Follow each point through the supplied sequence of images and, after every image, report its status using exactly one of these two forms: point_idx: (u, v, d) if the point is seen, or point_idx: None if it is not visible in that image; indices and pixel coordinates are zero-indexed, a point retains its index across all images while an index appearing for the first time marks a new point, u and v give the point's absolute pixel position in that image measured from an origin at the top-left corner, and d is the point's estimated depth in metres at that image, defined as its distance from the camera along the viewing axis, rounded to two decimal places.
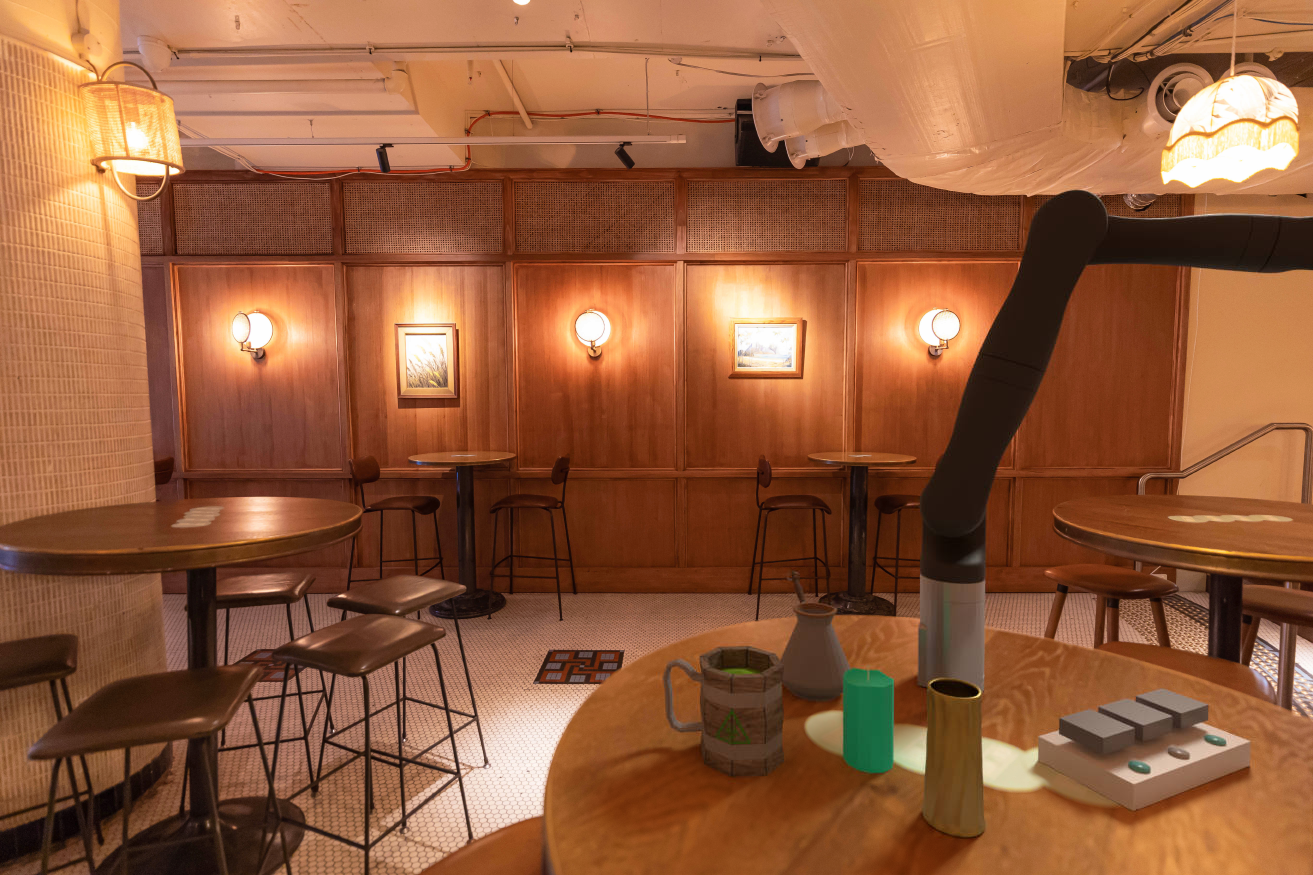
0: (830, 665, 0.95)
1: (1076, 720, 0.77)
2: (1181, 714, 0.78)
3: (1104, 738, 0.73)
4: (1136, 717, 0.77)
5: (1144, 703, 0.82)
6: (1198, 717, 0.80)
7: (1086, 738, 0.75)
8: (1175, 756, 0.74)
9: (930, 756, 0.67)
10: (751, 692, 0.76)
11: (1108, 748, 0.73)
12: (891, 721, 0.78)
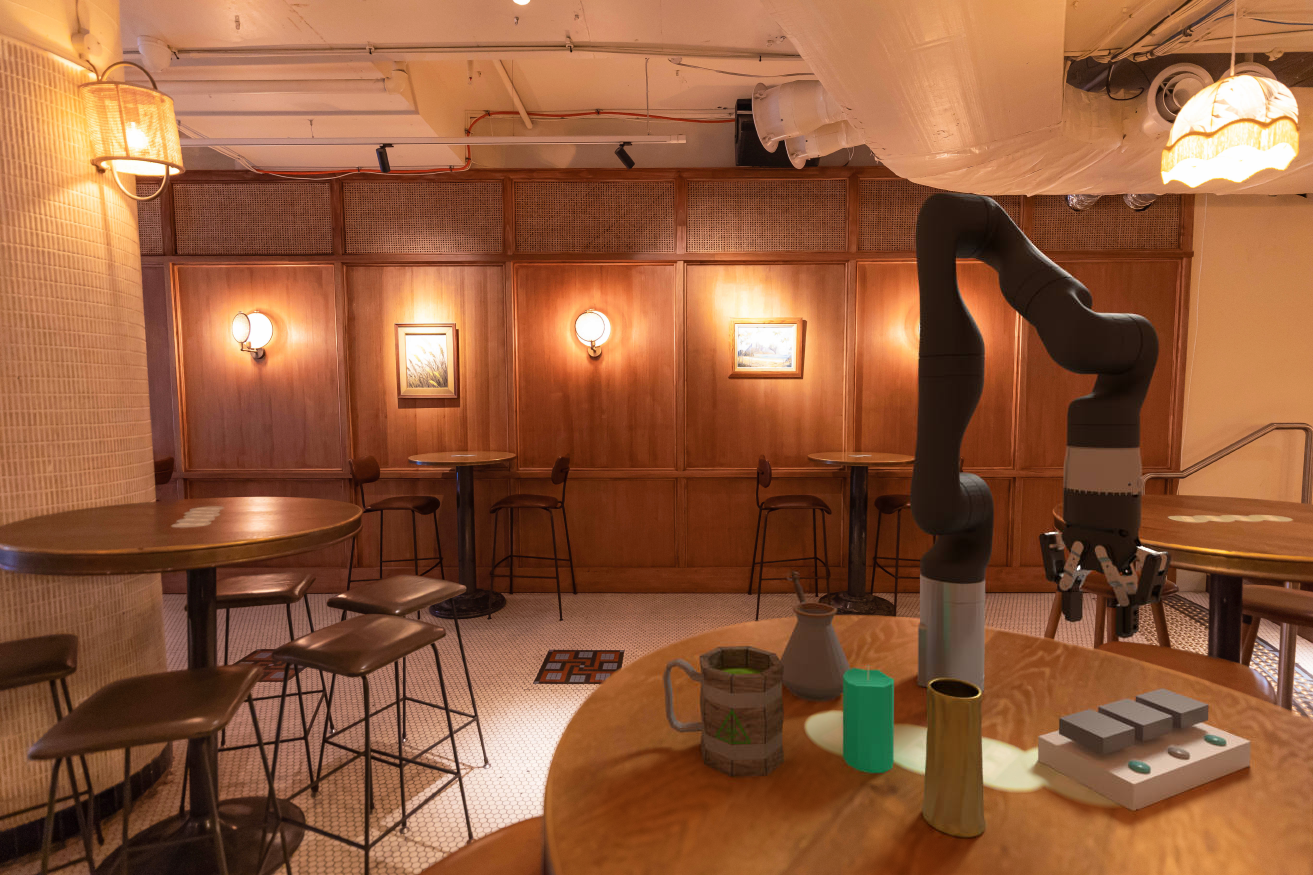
0: (830, 665, 0.95)
1: (1076, 720, 0.77)
2: (1181, 714, 0.78)
3: (1104, 738, 0.73)
4: (1136, 717, 0.77)
5: (1144, 703, 0.82)
6: (1198, 717, 0.80)
7: (1086, 738, 0.75)
8: (1175, 756, 0.74)
9: (930, 756, 0.67)
10: (751, 692, 0.76)
11: (1108, 748, 0.73)
12: (891, 721, 0.78)
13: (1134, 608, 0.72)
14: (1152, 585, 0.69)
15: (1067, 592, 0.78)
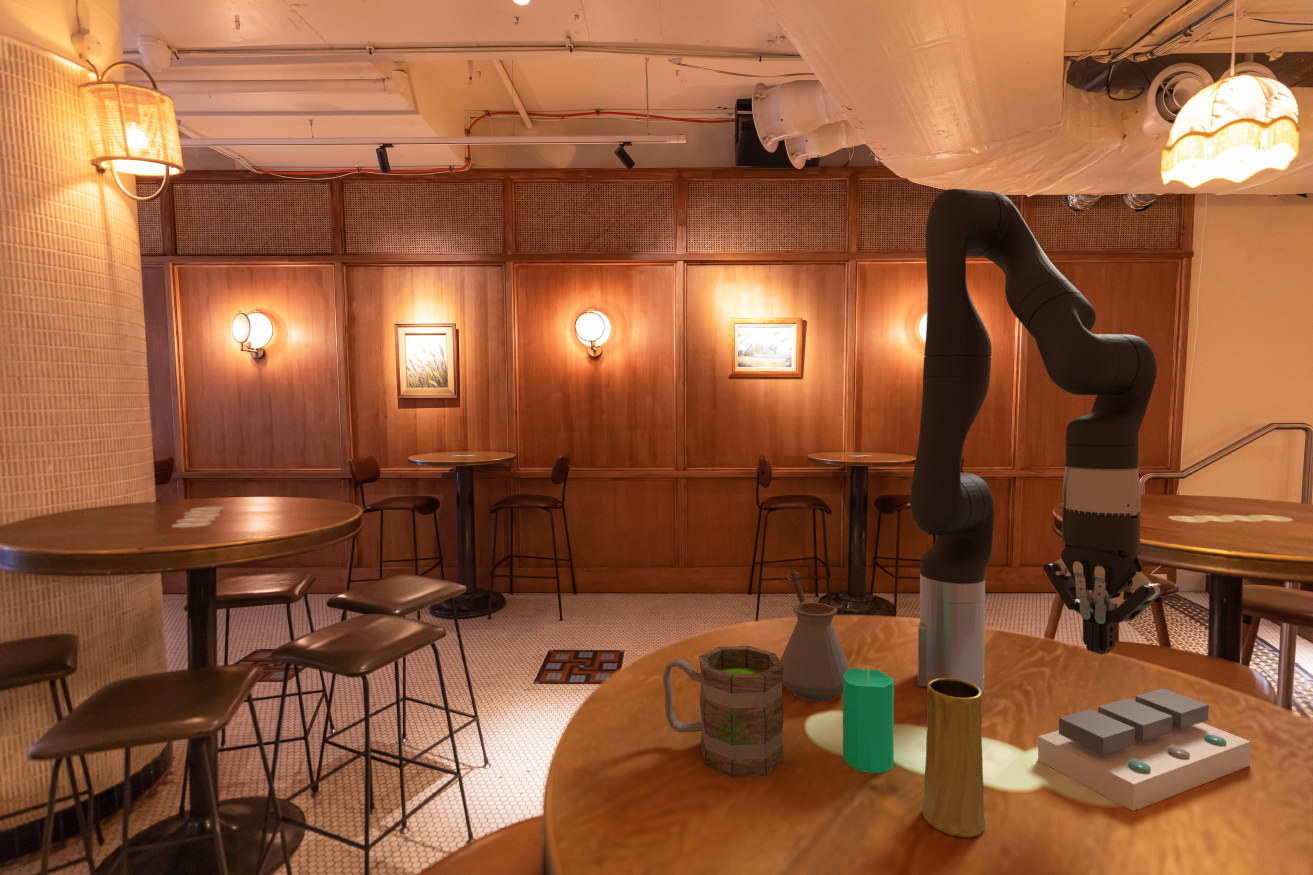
0: (830, 665, 0.95)
1: (1076, 720, 0.77)
2: (1181, 714, 0.78)
3: (1104, 738, 0.73)
4: (1136, 717, 0.77)
5: (1144, 703, 0.82)
6: (1198, 717, 0.80)
7: (1086, 738, 0.75)
8: (1175, 756, 0.74)
9: (930, 756, 0.67)
10: (751, 692, 0.76)
11: (1108, 748, 0.73)
12: (891, 721, 0.78)
13: (1110, 625, 0.74)
14: (1133, 611, 0.71)
15: (1088, 621, 0.76)
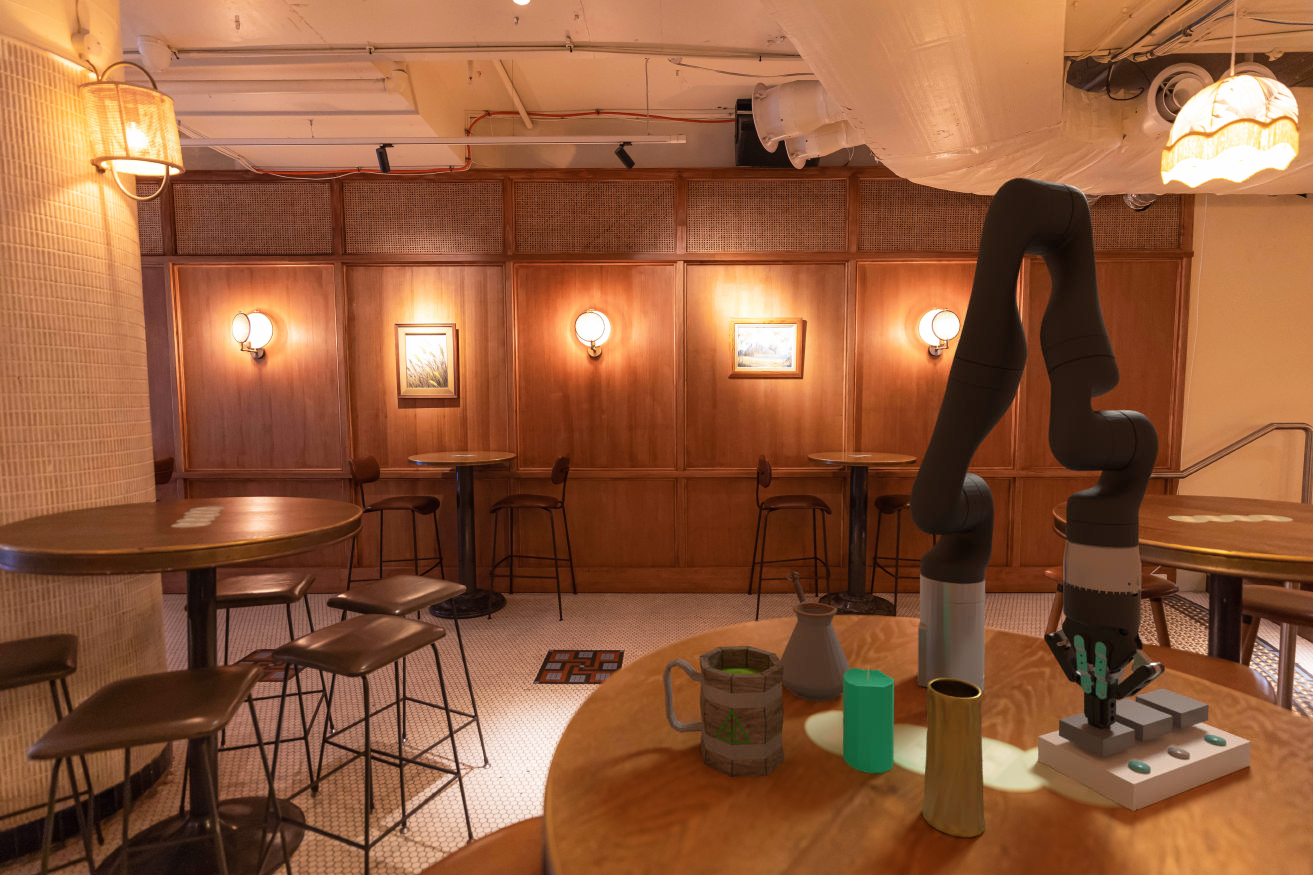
0: (830, 665, 0.95)
1: (1076, 722, 0.77)
2: (1181, 714, 0.78)
3: (1104, 740, 0.73)
4: (1136, 717, 0.77)
5: (1144, 703, 0.82)
6: (1198, 717, 0.80)
7: (1086, 740, 0.75)
8: (1175, 756, 0.74)
9: (930, 756, 0.67)
10: (751, 692, 0.76)
11: (1108, 750, 0.73)
12: (891, 721, 0.78)
13: (1111, 700, 0.75)
14: (1134, 689, 0.72)
15: (1090, 695, 0.76)
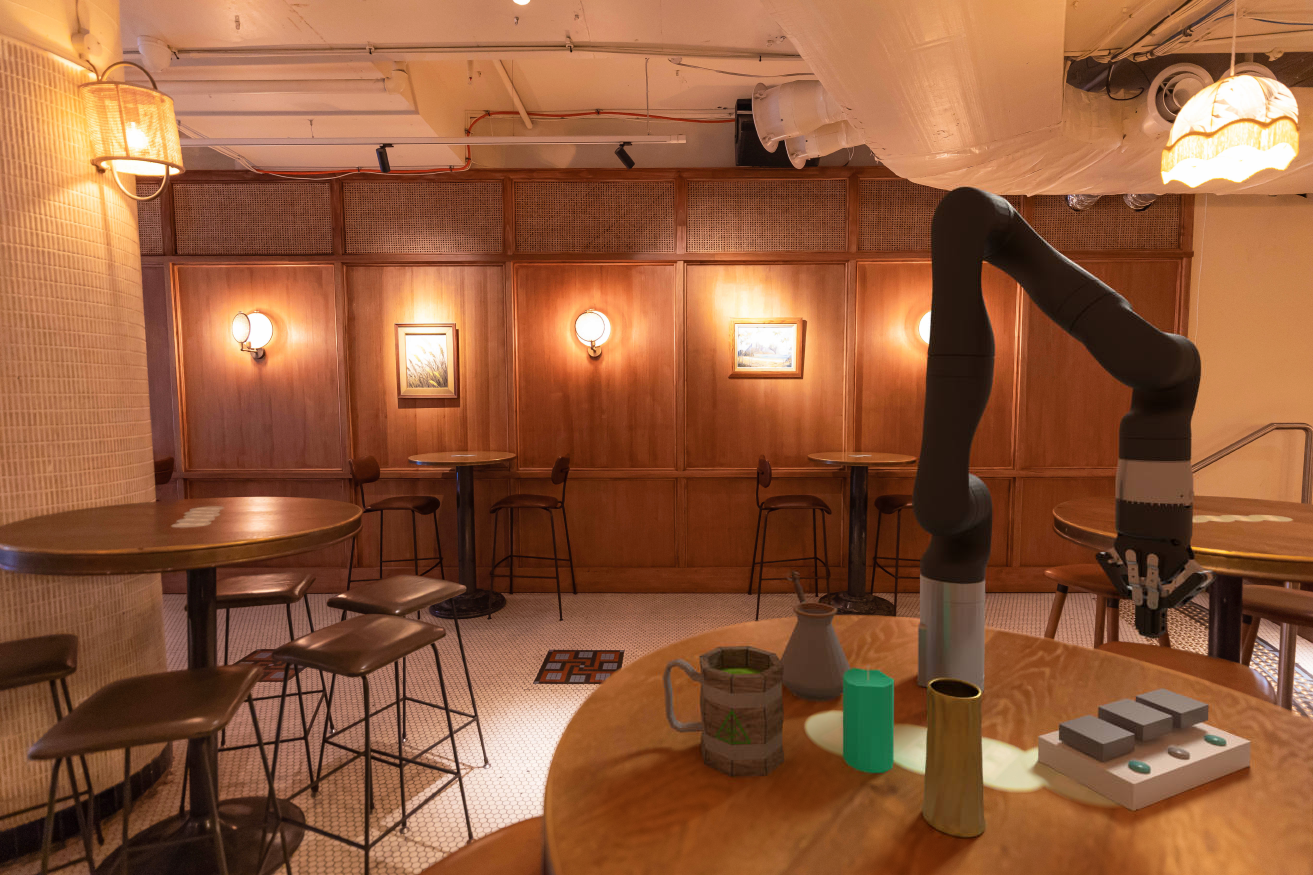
0: (830, 665, 0.95)
1: (1075, 726, 0.77)
2: (1181, 714, 0.78)
3: (1104, 744, 0.73)
4: (1136, 717, 0.77)
5: (1144, 703, 0.82)
6: (1198, 717, 0.80)
7: (1086, 744, 0.75)
8: (1175, 756, 0.74)
9: (930, 756, 0.67)
10: (751, 692, 0.76)
11: (1107, 754, 0.73)
12: (891, 721, 0.78)
13: (1162, 611, 0.78)
14: (1185, 596, 0.75)
15: (1141, 607, 0.79)
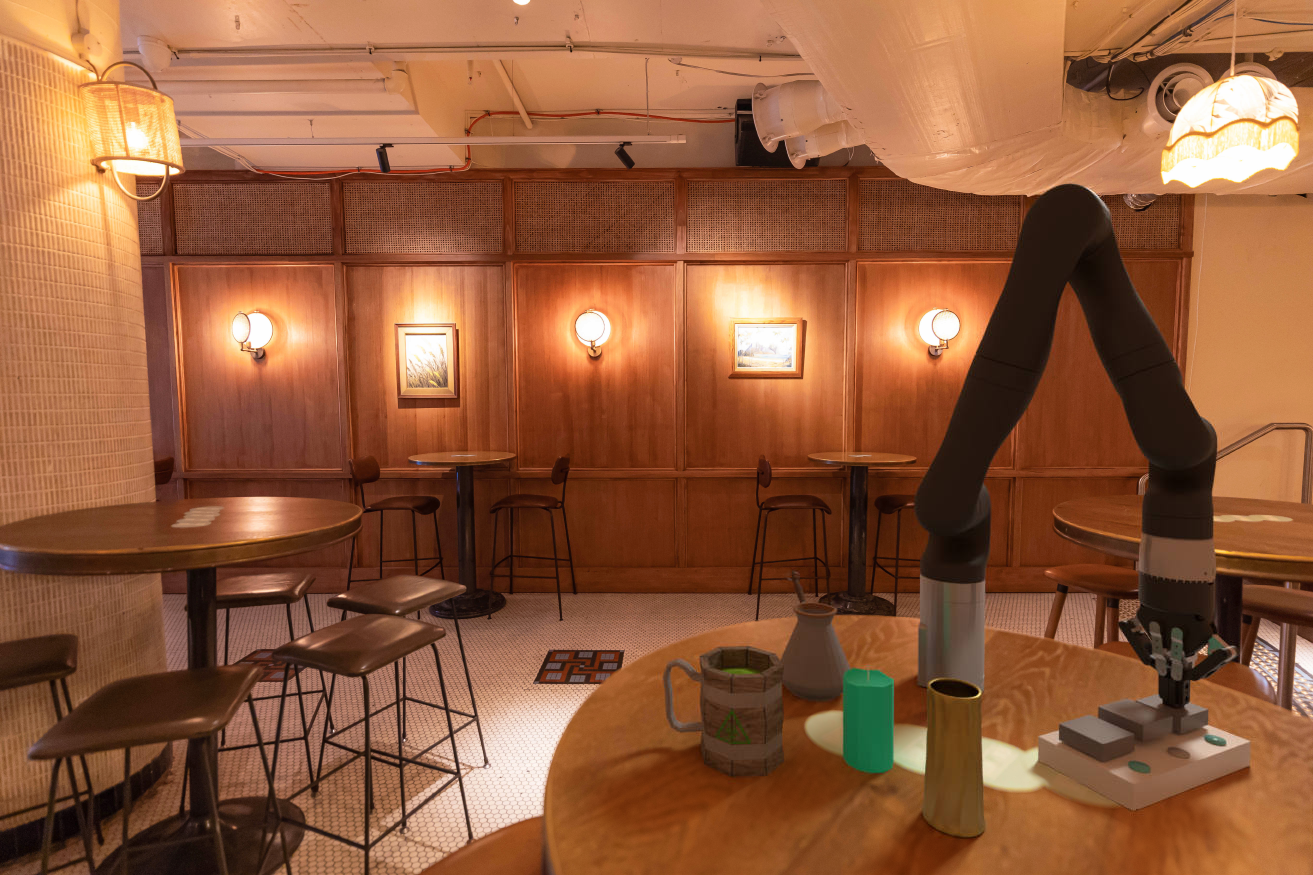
0: (830, 665, 0.95)
1: (1075, 726, 0.77)
2: (1181, 719, 0.78)
3: (1104, 744, 0.73)
4: (1136, 717, 0.77)
5: None
6: (1198, 722, 0.80)
7: (1086, 744, 0.75)
8: (1175, 756, 0.74)
9: (930, 756, 0.67)
10: (751, 692, 0.76)
11: (1107, 754, 0.73)
12: (891, 721, 0.78)
13: (1186, 682, 0.80)
14: (1210, 671, 0.77)
15: (1164, 677, 0.82)
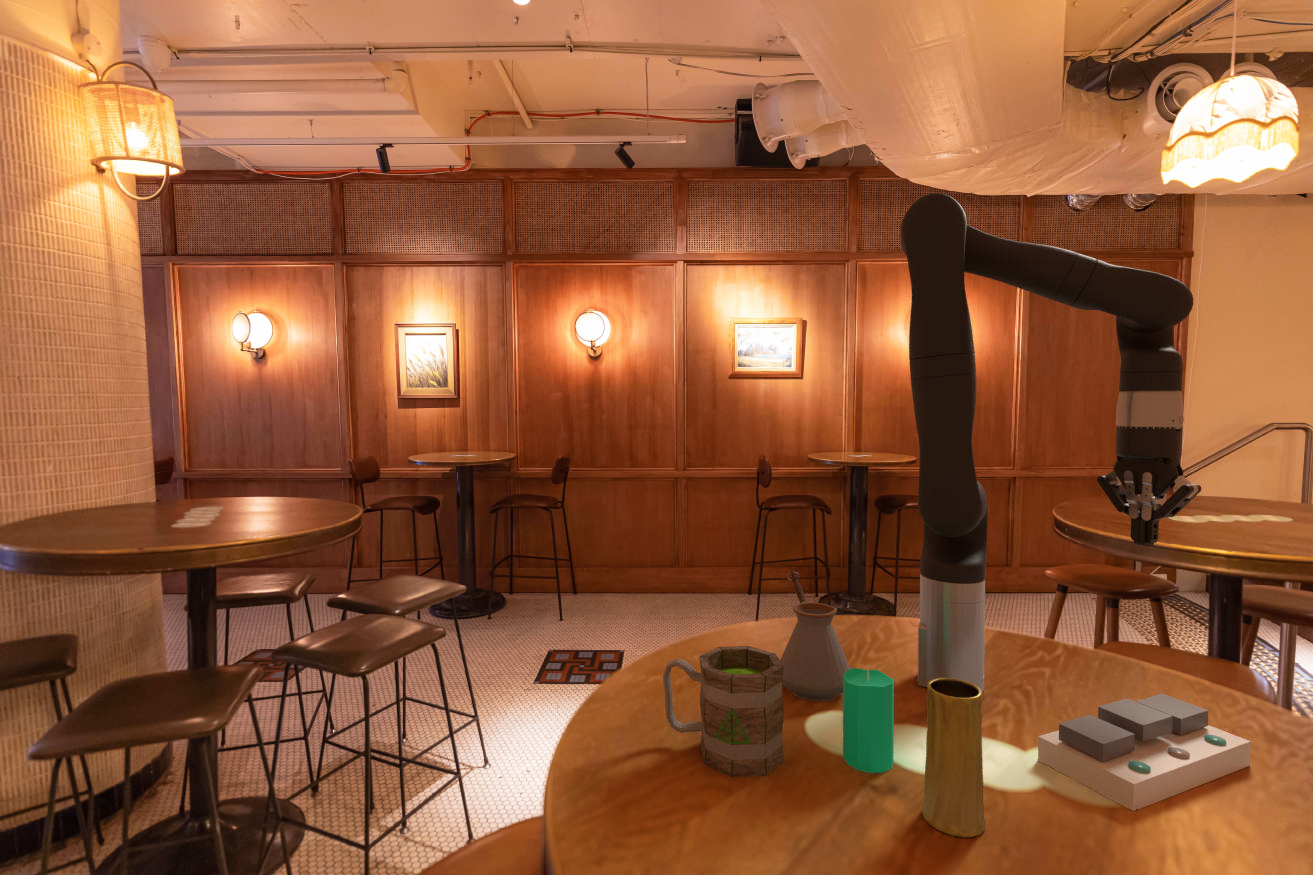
0: (830, 665, 0.95)
1: (1075, 726, 0.77)
2: (1181, 720, 0.78)
3: (1104, 744, 0.73)
4: (1136, 717, 0.77)
5: None
6: (1198, 723, 0.80)
7: (1086, 744, 0.75)
8: (1175, 756, 0.74)
9: (930, 756, 0.67)
10: (751, 692, 0.76)
11: (1107, 754, 0.73)
12: (891, 721, 0.78)
13: (1154, 522, 0.90)
14: (1175, 507, 0.87)
15: (1136, 520, 0.91)
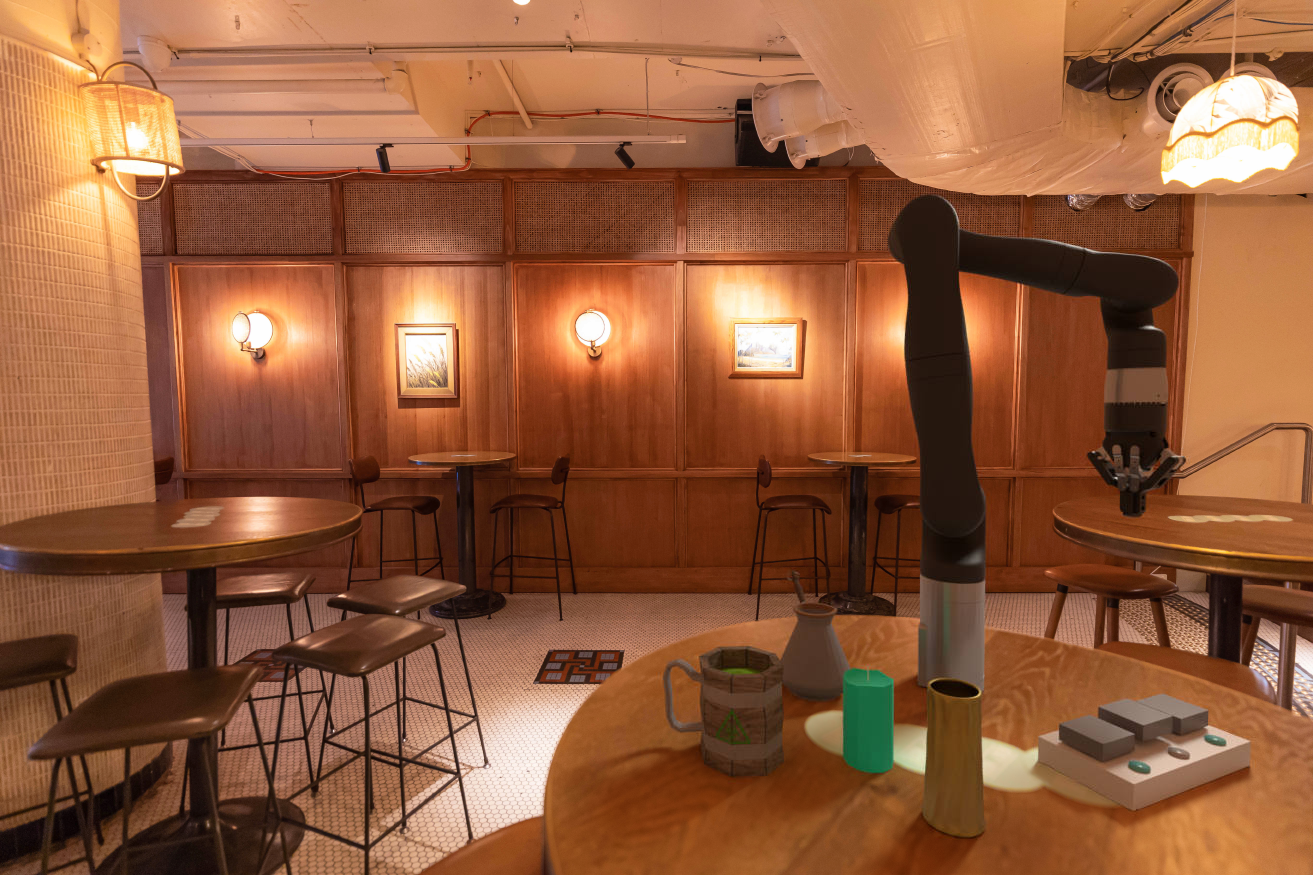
0: (830, 665, 0.95)
1: (1075, 726, 0.77)
2: (1181, 720, 0.78)
3: (1104, 744, 0.73)
4: (1136, 717, 0.77)
5: None
6: (1198, 723, 0.80)
7: (1086, 744, 0.75)
8: (1175, 756, 0.74)
9: (930, 756, 0.67)
10: (751, 692, 0.76)
11: (1107, 754, 0.73)
12: (891, 721, 0.78)
13: (1142, 493, 0.94)
14: (1161, 478, 0.91)
15: (1125, 492, 0.96)
